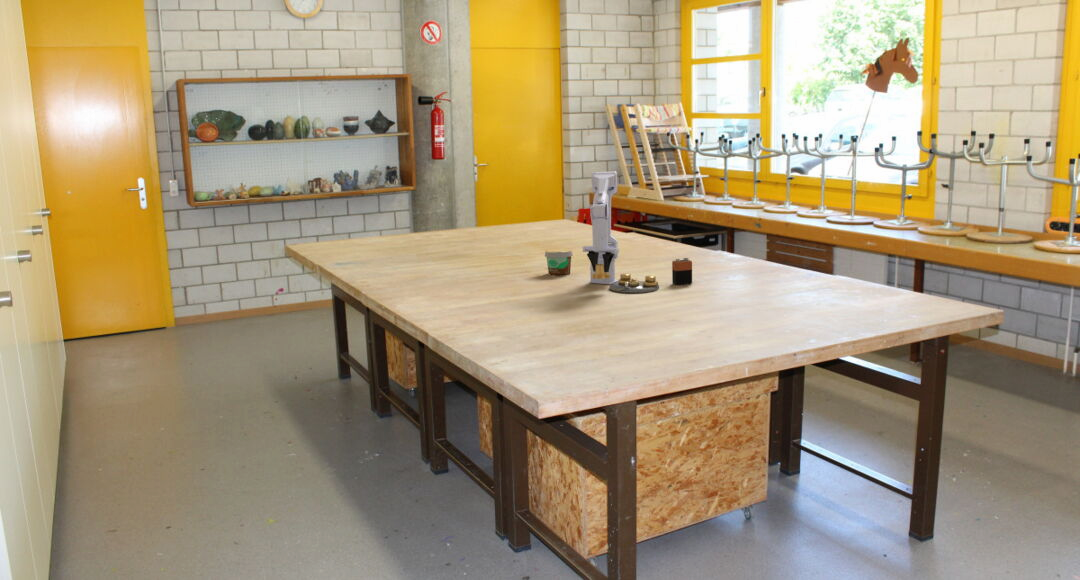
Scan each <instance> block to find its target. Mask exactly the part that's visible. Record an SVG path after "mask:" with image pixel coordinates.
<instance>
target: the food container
mask: <svg viewBox="0 0 1080 580" xmlns="http://www.w3.org/2000/svg"><path fill="white" fill-rule="evenodd" d="M544 257H545V258H546V263H547V272H548V275H549V274H550V275H549V276H552V275H555V276H554V277H563V275H564V276H569V275H571V268H572V267H571V266H572V257H573V252H572V250H569V251H564V252H562V251H554V252H553V251H552V252H551V251H548V250H545V252H544Z"/></svg>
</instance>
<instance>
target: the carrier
mask: <svg viewBox="0 0 1080 580" xmlns="http://www.w3.org/2000/svg"><path fill="white" fill-rule="evenodd" d="M631 276H632V275H631V273H621V274H620V278H619V279H617V280H618V282H615V283H612V284H609V290H610V291H611V292H614V293H618V294H619V293H620V294H634V295H635V294H648V293H652V292H657V291H658V290H659V289H660V285H659V280H656V278H657V276H656V275H645V277H644V280H642V281H641V280H639V279H638V278H634V277H633V278H632V277H631Z"/></svg>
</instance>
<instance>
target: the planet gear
mask: <svg viewBox="0 0 1080 580" xmlns="http://www.w3.org/2000/svg"><path fill="white" fill-rule="evenodd" d="M609 277H610V273H607V272H604V264H596V265H595V273H593V274H592V278H595V279H605V278H609Z"/></svg>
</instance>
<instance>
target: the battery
mask: <svg viewBox="0 0 1080 580" xmlns="http://www.w3.org/2000/svg"><path fill="white" fill-rule="evenodd" d="M671 265H672V267H671V271H672V273H671V274H672V277H671V278H672V279H671V280H672V281H671V282H672V284H673V285H675V286H681V285H682V286H683V285H692V284H693V261H692V260H690V257H683V258H682V259H680V258H676V259H675V260H672V263H671Z"/></svg>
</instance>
